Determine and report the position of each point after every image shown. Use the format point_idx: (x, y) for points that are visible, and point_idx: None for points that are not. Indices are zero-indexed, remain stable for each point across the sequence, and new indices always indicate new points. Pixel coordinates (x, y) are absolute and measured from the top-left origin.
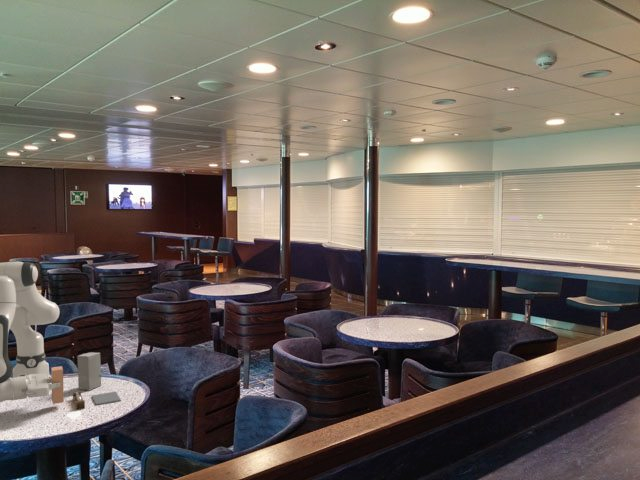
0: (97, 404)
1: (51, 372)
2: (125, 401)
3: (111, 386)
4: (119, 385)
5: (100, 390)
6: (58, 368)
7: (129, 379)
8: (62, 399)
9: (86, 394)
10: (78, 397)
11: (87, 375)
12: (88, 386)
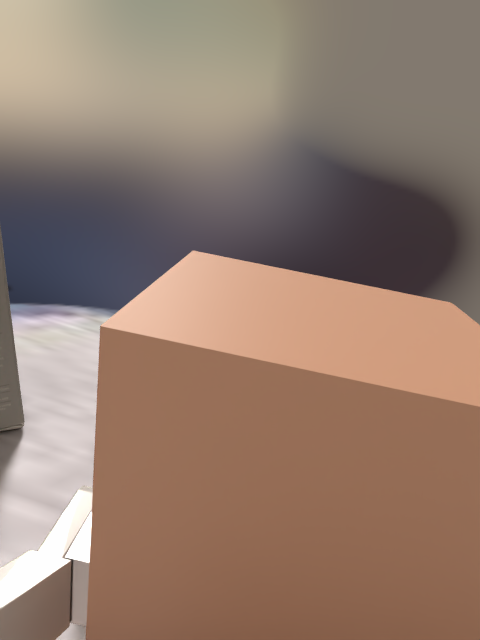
0: None
1: (155, 489)
2: None
3: (79, 359)
4: None
5: (85, 398)
6: (349, 305)
7: (66, 310)
8: None
9: (73, 462)
10: None
11: (2, 332)
12: (17, 404)
